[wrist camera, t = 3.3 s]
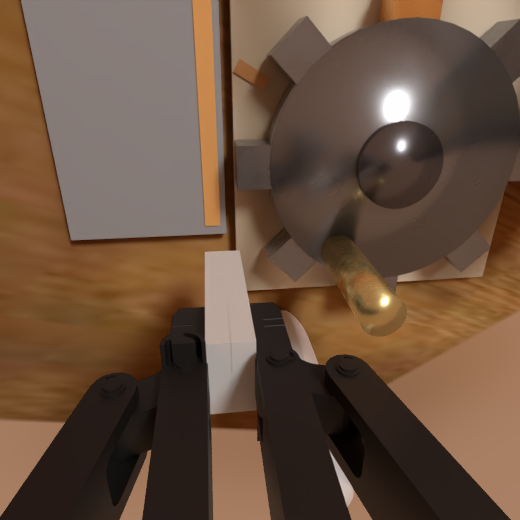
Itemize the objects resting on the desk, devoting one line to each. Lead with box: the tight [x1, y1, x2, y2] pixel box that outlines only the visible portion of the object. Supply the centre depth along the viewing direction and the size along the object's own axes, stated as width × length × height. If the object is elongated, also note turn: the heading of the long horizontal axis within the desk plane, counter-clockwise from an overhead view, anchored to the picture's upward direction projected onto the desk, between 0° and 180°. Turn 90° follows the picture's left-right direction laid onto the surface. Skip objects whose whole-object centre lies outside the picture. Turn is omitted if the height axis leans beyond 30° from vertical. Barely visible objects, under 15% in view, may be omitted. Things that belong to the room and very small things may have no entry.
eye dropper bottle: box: [281, 310, 354, 507], centre depth 22 cm, size 4×6×12 cm
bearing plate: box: [229, 0, 520, 291], centre depth 22 cm, size 15×15×1 cm
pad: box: [21, 0, 226, 240], centre depth 19 cm, size 8×14×1 cm, turn 0°
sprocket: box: [234, 0, 520, 336], centre depth 18 cm, size 15×15×8 cm
